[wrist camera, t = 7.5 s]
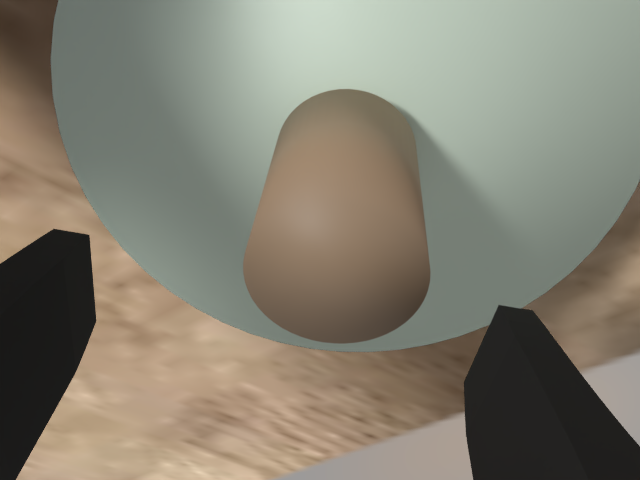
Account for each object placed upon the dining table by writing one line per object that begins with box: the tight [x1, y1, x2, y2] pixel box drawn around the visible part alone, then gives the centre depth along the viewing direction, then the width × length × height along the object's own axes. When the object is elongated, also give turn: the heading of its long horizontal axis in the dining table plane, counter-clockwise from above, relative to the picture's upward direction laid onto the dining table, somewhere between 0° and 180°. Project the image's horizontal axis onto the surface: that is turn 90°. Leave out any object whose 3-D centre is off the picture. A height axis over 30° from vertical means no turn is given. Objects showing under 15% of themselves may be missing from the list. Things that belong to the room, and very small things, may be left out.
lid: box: [51, 0, 640, 352], centre depth 13 cm, size 14×14×6 cm
